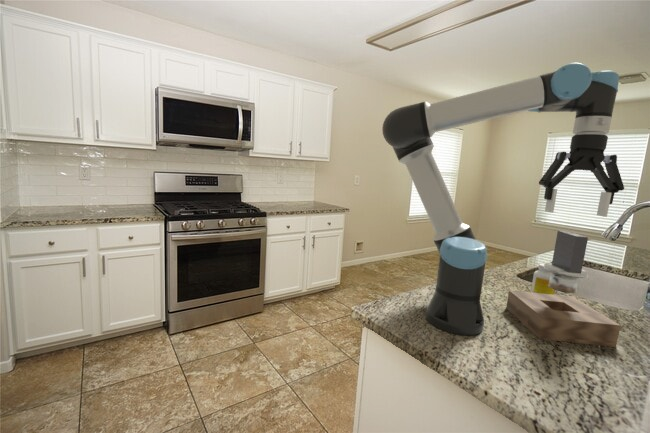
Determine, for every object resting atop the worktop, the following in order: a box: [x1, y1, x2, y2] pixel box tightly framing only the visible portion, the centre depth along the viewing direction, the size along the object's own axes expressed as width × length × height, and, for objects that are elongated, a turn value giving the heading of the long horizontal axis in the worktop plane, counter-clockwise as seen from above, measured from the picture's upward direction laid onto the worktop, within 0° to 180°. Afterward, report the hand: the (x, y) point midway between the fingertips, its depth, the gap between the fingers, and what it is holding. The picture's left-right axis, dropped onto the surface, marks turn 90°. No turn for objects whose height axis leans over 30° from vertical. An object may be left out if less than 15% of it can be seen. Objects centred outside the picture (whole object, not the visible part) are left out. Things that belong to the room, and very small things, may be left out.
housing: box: [506, 290, 621, 348], centre depth 93 cm, size 19×19×6 cm
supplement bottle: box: [530, 263, 556, 295], centre depth 111 cm, size 7×7×13 cm
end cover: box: [544, 230, 589, 294], centre depth 91 cm, size 10×10×16 cm
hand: (575, 214), depth 89 cm, fingers open, 13 cm apart
